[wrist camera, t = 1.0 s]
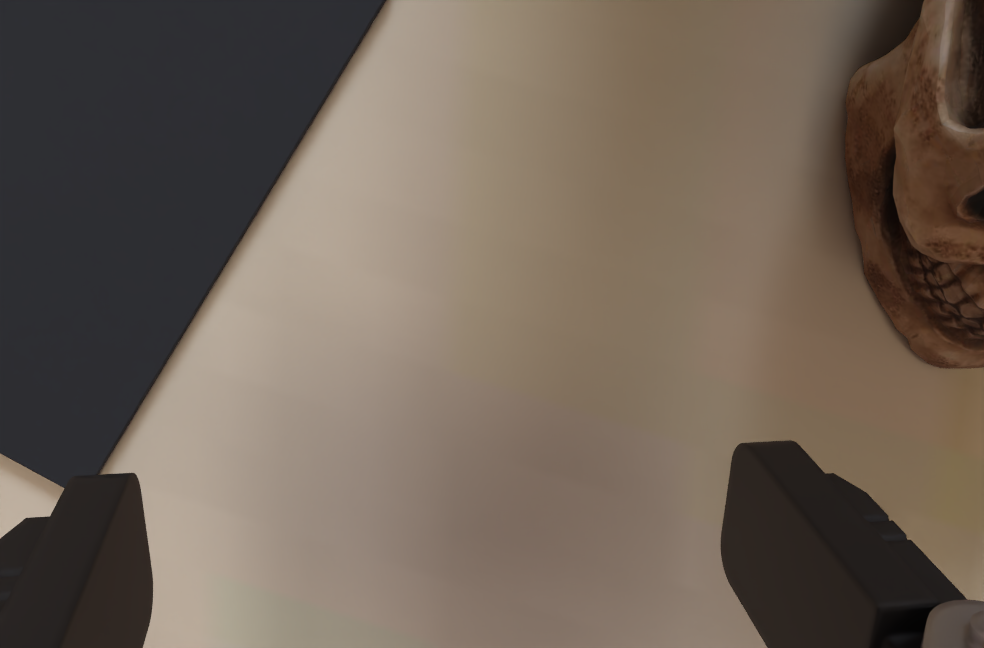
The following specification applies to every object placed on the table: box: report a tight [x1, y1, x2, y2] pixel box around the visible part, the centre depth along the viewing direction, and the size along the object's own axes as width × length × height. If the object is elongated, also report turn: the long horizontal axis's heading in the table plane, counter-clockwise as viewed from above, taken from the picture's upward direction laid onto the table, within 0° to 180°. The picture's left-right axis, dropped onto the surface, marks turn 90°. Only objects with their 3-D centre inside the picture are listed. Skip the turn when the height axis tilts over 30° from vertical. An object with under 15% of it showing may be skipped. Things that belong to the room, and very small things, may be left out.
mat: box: [0, 0, 386, 488], centre depth 30 cm, size 20×11×1 cm, turn 147°
